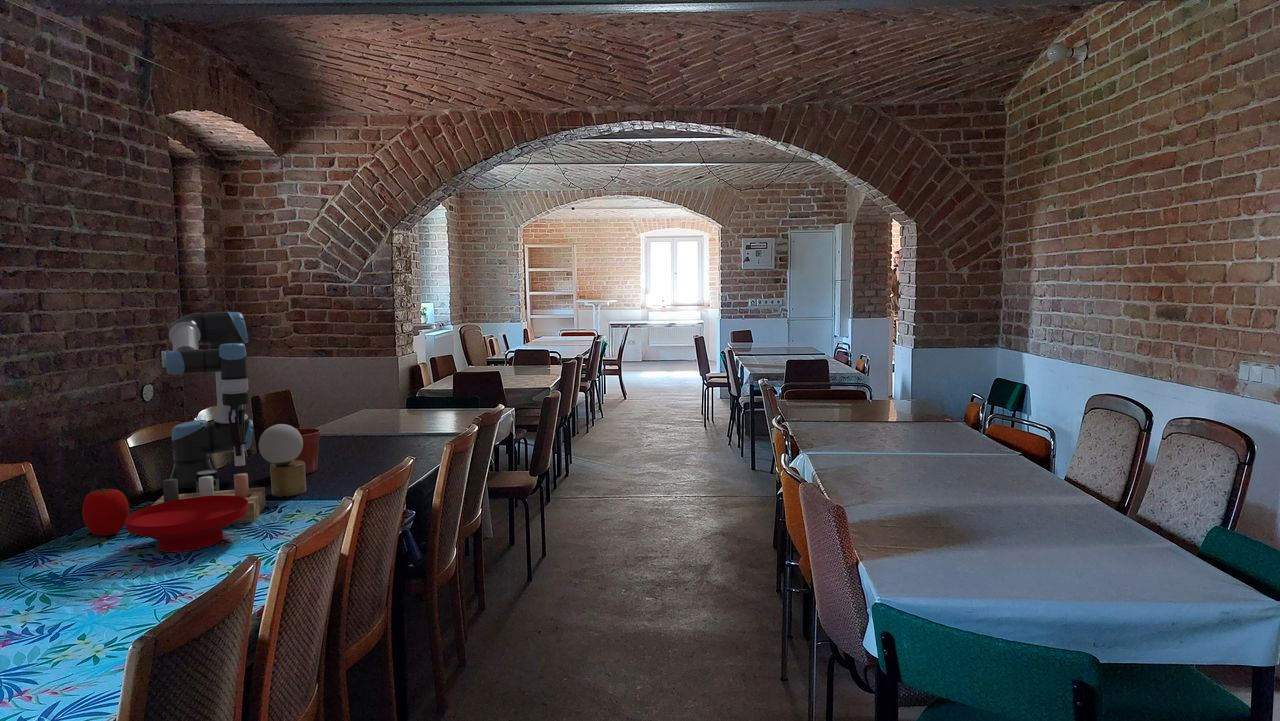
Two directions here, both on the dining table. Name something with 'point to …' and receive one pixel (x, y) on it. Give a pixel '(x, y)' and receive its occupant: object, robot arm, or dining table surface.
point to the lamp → (284, 459)
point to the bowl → (187, 521)
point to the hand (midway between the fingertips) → (240, 465)
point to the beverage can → (208, 473)
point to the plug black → (170, 490)
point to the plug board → (254, 500)
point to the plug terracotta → (241, 485)
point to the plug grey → (206, 486)
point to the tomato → (105, 511)
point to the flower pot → (309, 448)
